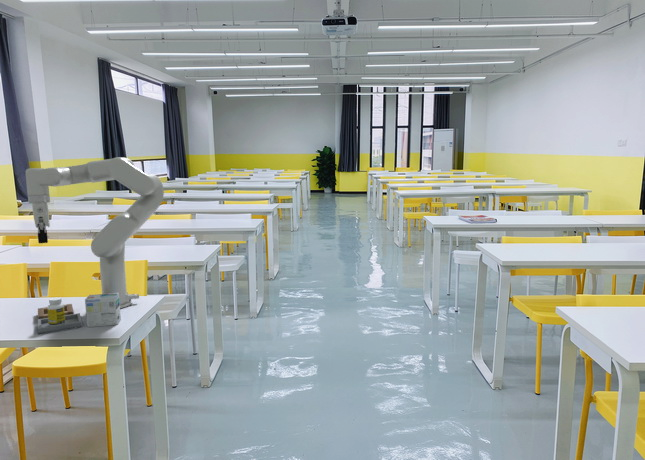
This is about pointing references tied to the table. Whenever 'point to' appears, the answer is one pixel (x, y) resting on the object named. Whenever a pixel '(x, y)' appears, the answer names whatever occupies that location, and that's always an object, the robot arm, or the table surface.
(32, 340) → the table surface
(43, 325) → the tray
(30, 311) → the table surface
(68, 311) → the socket block
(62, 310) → the supplement bottle
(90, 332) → the table surface
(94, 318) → the light bulb box
